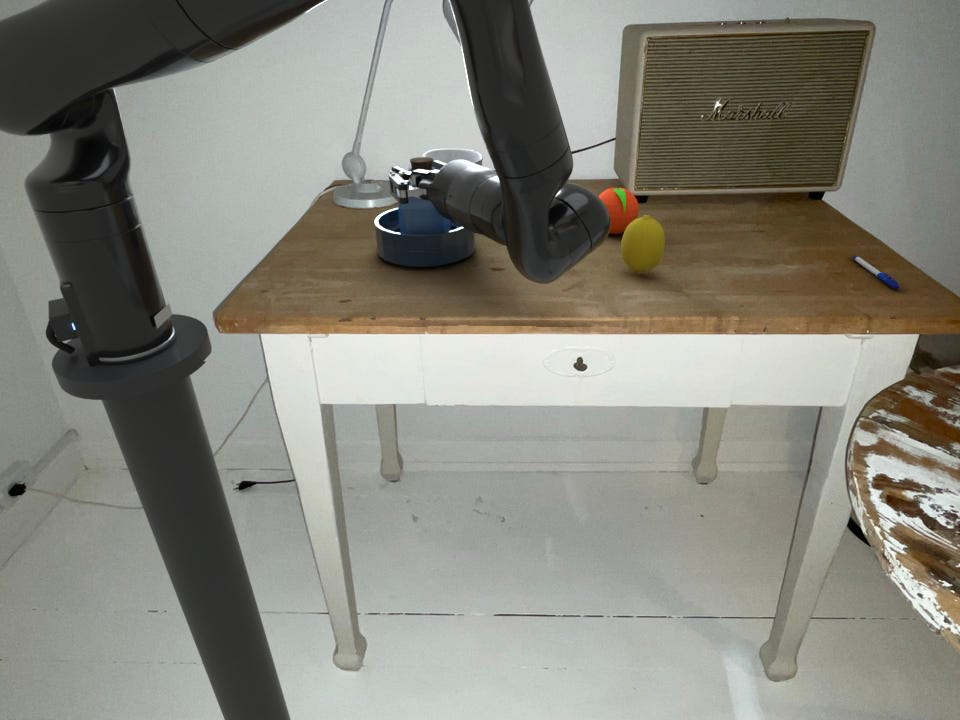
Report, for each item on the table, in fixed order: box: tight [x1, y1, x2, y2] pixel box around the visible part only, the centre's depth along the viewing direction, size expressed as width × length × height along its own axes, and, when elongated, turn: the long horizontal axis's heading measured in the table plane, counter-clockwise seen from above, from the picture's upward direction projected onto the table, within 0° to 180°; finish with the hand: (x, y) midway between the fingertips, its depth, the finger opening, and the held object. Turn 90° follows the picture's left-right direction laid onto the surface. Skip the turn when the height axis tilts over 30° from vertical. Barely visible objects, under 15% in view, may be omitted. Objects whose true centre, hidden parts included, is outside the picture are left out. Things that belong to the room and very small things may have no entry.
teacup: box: [407, 147, 484, 182], centre depth 113 cm, size 14×11×8 cm
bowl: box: [373, 207, 477, 268], centre depth 91 cm, size 14×14×5 cm
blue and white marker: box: [852, 254, 900, 290], centre depth 82 cm, size 10×1×1 cm, turn 1°
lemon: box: [620, 214, 666, 275], centre depth 82 cm, size 6×6×8 cm
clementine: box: [597, 186, 640, 235], centre depth 96 cm, size 8×7×7 cm
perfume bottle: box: [397, 156, 451, 234], centre depth 88 cm, size 6×6×12 cm
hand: (414, 171), depth 88 cm, fingers closed on perfume bottle, 5 cm apart
